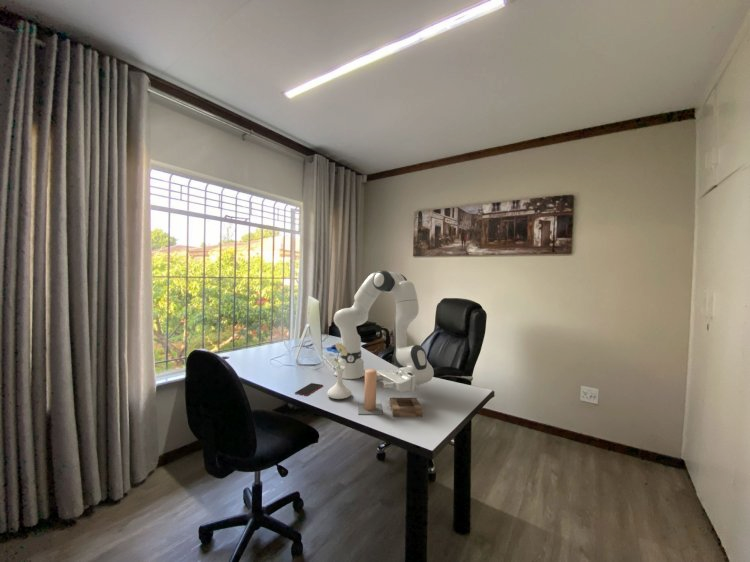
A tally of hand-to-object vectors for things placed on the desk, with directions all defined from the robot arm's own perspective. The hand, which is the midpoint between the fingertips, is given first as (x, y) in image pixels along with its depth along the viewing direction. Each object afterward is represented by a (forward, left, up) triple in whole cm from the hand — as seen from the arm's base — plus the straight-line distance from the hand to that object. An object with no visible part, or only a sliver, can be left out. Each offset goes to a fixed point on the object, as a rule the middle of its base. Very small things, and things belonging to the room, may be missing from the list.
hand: (377, 382), depth 130 cm
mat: (+2, -3, -11) cm, 12 cm away
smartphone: (-21, -32, -12) cm, 40 cm away
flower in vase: (-13, -17, -11) cm, 24 cm away
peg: (+1, -3, -11) cm, 11 cm away
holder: (+3, +12, -11) cm, 17 cm away
